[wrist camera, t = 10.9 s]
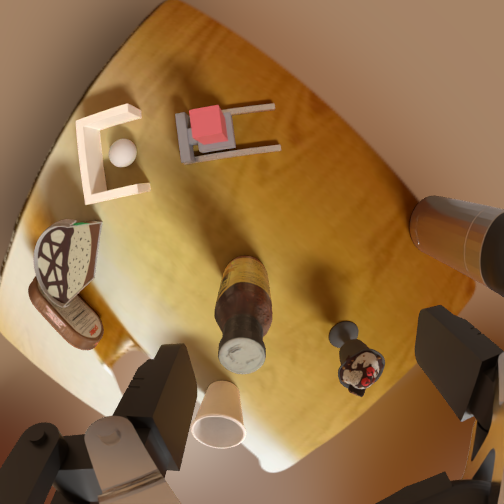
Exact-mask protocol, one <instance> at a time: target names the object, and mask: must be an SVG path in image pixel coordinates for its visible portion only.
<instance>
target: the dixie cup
mask: <svg viewBox="0 0 504 504" xmlns="http://www.w3.org/2000/svg"><path fill="white" fill-rule="evenodd" d="M191 432H192V434H193V436H194V437H195V438H196V439H197V440H198V441H199V442H201V443H202V444H204V445H207V446H210V447H214V448H230V447H234V446H236V445H238V444H240V443H241V442H242V441H243V440H244V439H245V436H246V429H245V427H244V424H243V416H242V409H241V401H240V394H239V389H238V388H237V386H236V385H234V384H233V383H231V382H228V381H216V382H213V383H212V384H210V385H209V387H208V389H207V391H206V394H205V396H204V399H203V401H202V403H201V406H200V408H199V411H198V413H197V415H196V418H195V420H194V421H193V422H192V424H191Z"/></svg>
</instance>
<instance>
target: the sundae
mask: <svg viewBox="0 0 504 504" xmlns="http://www.w3.org/2000/svg"><path fill="white" fill-rule="evenodd" d="M357 337H358V328H357V326H356V325H355V324H354V323H352V322H349V321H344V322H341V323H338V324H337V325H335V326H334V327H333V328H332V330H331V332H330V334H329V340H330V343H331V344H332V345H333V346H335V347H338V348H340V351H339V355H340V362H341V366H340V368H339V370H338V377H339V380H340V383H341V384H342V385H343V386H344V387H346V388H348V390H349V392H350V393H353V394H355V395H358V396H360V397H363V395H364V393H365V390H366V388H368V387H370V386H371V385H372V384H373V383H375V382H376V381H377V380H378V379H379V377H380V376H381V374H382V372H383V369H384V366H385V360H384V357H383V356H382V355H381V354H380V353H379V352H377V351H375V350H373V349H369V348H368V347H367V346H366V345H365V344H364V343H363V342H362V341H360V340H358V339H357Z"/></svg>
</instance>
